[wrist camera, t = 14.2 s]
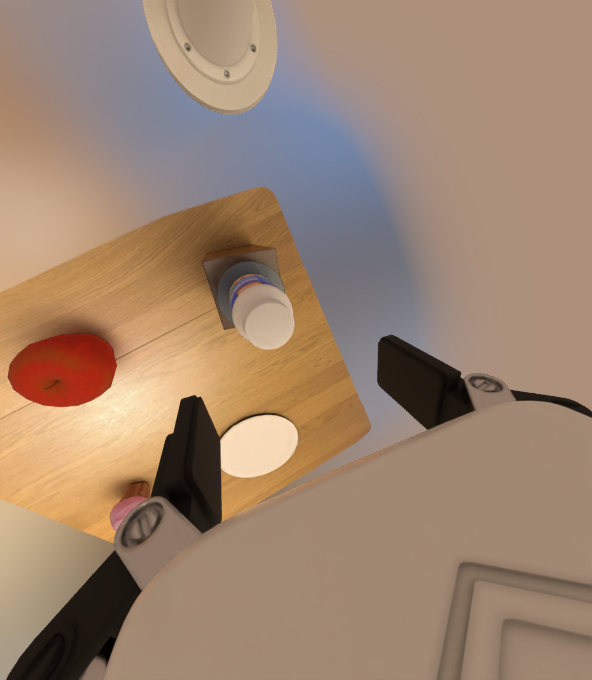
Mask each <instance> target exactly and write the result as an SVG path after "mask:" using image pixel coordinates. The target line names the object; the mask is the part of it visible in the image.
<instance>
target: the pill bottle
mask: <svg viewBox="0 0 592 680" xmlns="http://www.w3.org/2000/svg"><path fill="white" fill-rule="evenodd" d="M229 302H230V307H231V312H232V318H233V322H234V325H235V327H236V329H237V331H238V332H239V333H240V335H241V336H243V337H244V338H245V339H247V340H249V341H250V342H251V343H252V344H253V345H254V346H256V347H258V348H261V349H266V350H270V349H275V348H278V347H280V346H282V345H284V344H285V343H286V342H287V341H288V340H289V339H290V337H291V336H292V334H293V331H294V326H295V323H294V317H293V309H292V305H291V303H290V301H289V299H288V297H287V296H286V295H285V293H284V292H283V291H281V290H280V289H279V288H278V287H277V286H275V285H274V284H273V283H272V282H271V281H270V280H268V279H267V278H265V277H263V276H261V275H258V274H248V275H244V276H242V277H240V278H239V279H237V280H236V281H235V282H234V284H233V285H232V287H231V289H230V293H229Z"/></svg>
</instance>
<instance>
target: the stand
mask: <svg viewBox="0 0 592 680" xmlns="http://www.w3.org/2000/svg"><path fill="white" fill-rule="evenodd" d="M241 260H252V261H256V262H259V263H262V264H264V265H267V266H268V267H270V268H271V269H273V270H274V271H275V272H276V273H277V274H278V276H279V277H280V273H279V268H278V262H277V256H276V251H275V248H271V247H265V246H258V245H249V246H243V247H238V248H232V249H226V250H221V251H215V252H209V253H208V254H207V255H206V257H205V258H204V259H203V261H202V264H203V267H204V270H205V273H206V276H207V279H208V282H209V285H210V288H211V291H212V294H213V297H214V301H215V304H216V307H217V310H218V313H219V316H220V319H221V322H222V325H223V328H224V330H226V329H230V328H234V327H235V325H234V324H233V323H231V322H230V321H229V320H228V319H227V318H226V317H225V316H224V315H223V313H222V311H221V310H220V307H219V305H218V300H217V290H218V283H219V279H220V277H221V275H222V273H223V272H224V270H225V269H226V268H227V267H228V266H230V265H231V264H233V263H235V262H237V261H241Z"/></svg>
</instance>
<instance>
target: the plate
mask: <svg viewBox="0 0 592 680" xmlns="http://www.w3.org/2000/svg"><path fill="white" fill-rule="evenodd" d="M220 443H221V469H222V470H223V471H224V472H225V473H227V474H230V475H232V476H235V477H242V478H247V477H256V476H260V475H264V474H266V473H269V472H271V471H273V470H275V469H277V468H278V467H280V466H281V465H282V464H284V463H285V462H286V461H287V460H288V459H289V458H290V456H291V455H292V454H293V453H294V451H295V448H296V446H297V443H298V433H297V429H296V428H295V426H294V425H293V423H292V422H290V421H289V420H287V419H286V418H283V417H280V416H277V415H260V416H254V417H251V418H248V419H246V420H243V421H241V422H240V423H238V424H236V425H234V426H233V427H232V428H231V429H229V430H228V431H227V432H226V433H225V434H224V435H223V437H222V438H221V440H220Z"/></svg>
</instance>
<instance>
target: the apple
mask: <svg viewBox="0 0 592 680" xmlns="http://www.w3.org/2000/svg"><path fill="white" fill-rule="evenodd" d="M116 367H117V364H116V360H115V356H114V350H113V348H112V347H111V346H110V345H109V344H108V343H107V342H106V341H104V340H103V339H101V338H100V337H98V336H94V335H91V334H81V333H78V334H62V335H58V336H55V337H51V338H48V339H45V340H41V341H38V342H35V343H32V344H29V345H28V346H27V347H26V348H24V349H23V350H22V351H21V352H20V353H18V354H17V355H16V357H15V358H14V359H13V361H12V362H11V363H10V366H9V372H8V379H9V381H10V383H11V385H12V387H13V389H14V390H15V391H16V392H18V393H19V394H20V395H22V396H23V397H25V398H26V399H28V400H30V401H33V402H36V403H38V404H41V405H44V406H55V407H69V406H78V405H81V404H84V403H87V402H89V401H92V400H93V399H95V398H97V397H99V396H100V395H102V394H103V393H104V392H105V391H106V390H108V389H109V388H110V387H111V385H112V381H113V378H114V374H115V371H116Z"/></svg>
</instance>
